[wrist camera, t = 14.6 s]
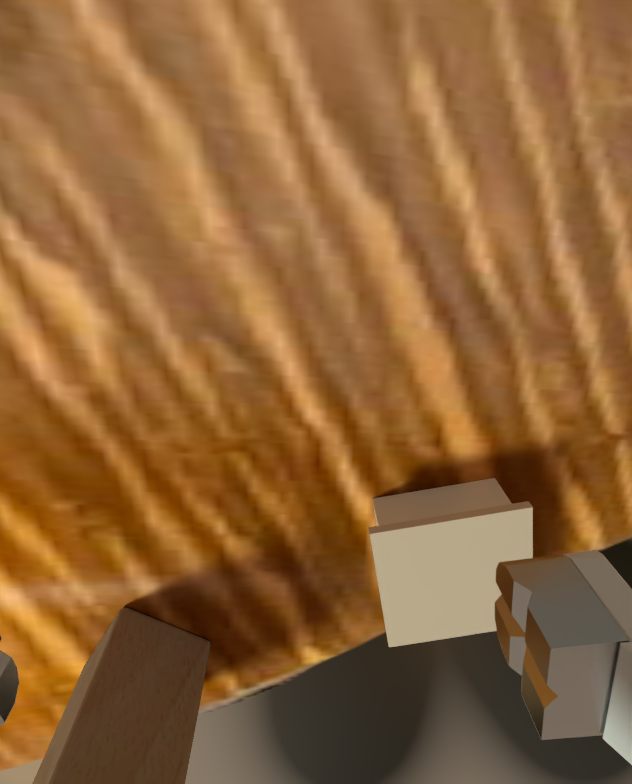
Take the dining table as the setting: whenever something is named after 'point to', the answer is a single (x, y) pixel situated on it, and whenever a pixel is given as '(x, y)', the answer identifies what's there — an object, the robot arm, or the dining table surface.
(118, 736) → the wooden block
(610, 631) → the robot arm
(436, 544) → the plain cream box
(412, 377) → the dining table surface
